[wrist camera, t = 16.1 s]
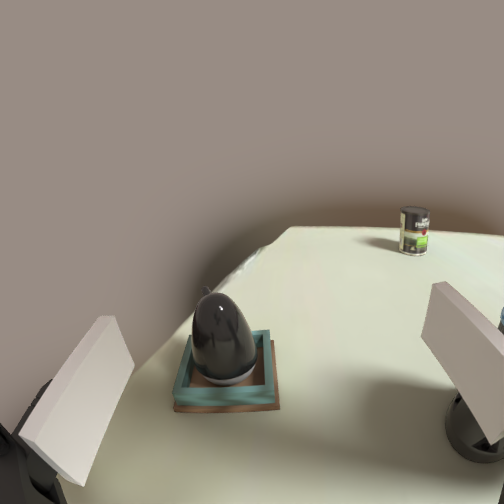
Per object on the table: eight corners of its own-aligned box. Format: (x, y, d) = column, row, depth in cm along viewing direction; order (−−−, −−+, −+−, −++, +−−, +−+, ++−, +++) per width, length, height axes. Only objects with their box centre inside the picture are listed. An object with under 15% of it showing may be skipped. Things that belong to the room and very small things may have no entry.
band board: (273, 344, 52) (272, 327, 50) (279, 409, 37) (278, 392, 35) (191, 349, 52) (186, 333, 51) (175, 411, 37) (167, 395, 36)
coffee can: (432, 252, 80) (436, 211, 75) (411, 258, 79) (414, 214, 74) (413, 243, 90) (416, 204, 85) (392, 247, 88) (394, 207, 83)
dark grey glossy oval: (244, 346, 50) (233, 272, 45) (270, 381, 41) (262, 300, 36) (192, 363, 47) (171, 289, 42) (209, 403, 38) (185, 323, 33)
